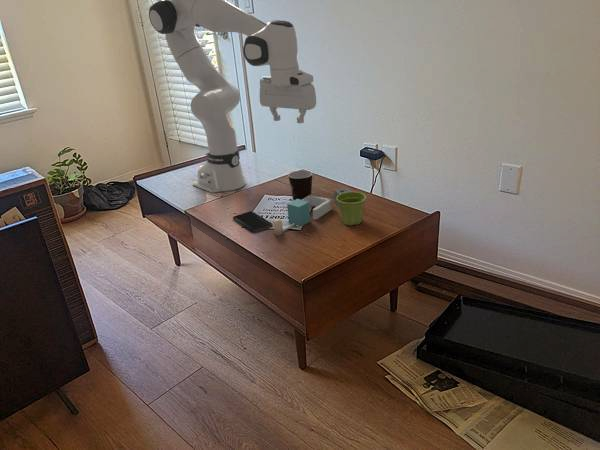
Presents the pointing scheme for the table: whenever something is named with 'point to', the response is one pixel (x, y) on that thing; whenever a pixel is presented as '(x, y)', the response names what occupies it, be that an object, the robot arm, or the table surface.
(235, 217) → the phone
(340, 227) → the table surface
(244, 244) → the table surface
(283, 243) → the table surface
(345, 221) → the plant pot
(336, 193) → the grey cube with symbols
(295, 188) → the coffee mug
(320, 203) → the rail lane
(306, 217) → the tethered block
